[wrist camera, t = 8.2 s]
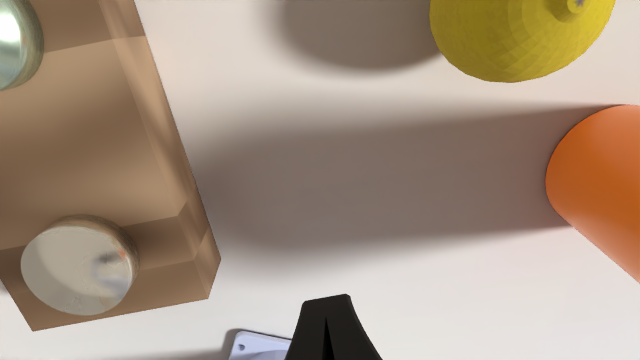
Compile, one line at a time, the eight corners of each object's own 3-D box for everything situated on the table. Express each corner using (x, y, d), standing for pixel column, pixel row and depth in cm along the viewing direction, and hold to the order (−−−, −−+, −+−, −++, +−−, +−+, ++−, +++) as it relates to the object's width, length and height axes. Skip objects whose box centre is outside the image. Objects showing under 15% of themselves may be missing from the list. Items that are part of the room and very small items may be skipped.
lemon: (383, 11, 18) (441, 5, 11) (477, -92, 17) (616, -180, 9) (459, 93, 20) (554, 137, 12) (549, 5, 18) (719, -6, 11)
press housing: (221, 258, 23) (208, 298, 19) (70, 287, 23) (32, 331, 20) (105, -84, 16) (56, -110, 13) (-103, -39, 16) (-202, -54, 13)
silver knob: (172, 251, 22) (143, 305, 18) (96, 265, 22) (49, 323, 18) (144, 179, 20) (104, 220, 16) (62, 195, 20) (0, 240, 16)
